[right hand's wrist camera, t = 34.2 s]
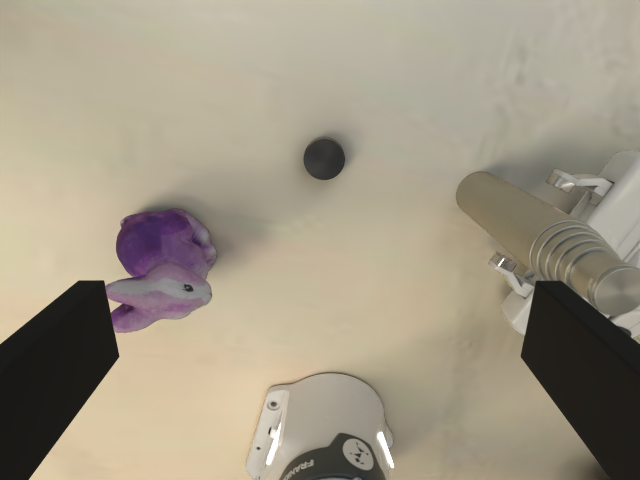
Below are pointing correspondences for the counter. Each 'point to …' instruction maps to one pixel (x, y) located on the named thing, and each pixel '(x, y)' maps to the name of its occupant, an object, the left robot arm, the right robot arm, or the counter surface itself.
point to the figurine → (160, 269)
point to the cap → (324, 158)
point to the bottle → (551, 243)
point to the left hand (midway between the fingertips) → (522, 219)
